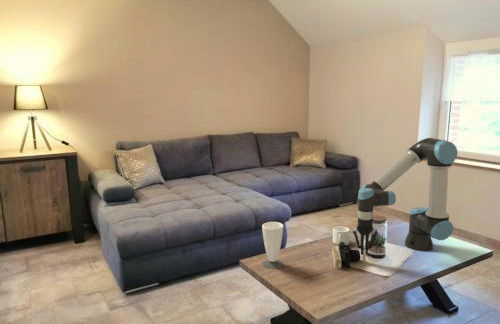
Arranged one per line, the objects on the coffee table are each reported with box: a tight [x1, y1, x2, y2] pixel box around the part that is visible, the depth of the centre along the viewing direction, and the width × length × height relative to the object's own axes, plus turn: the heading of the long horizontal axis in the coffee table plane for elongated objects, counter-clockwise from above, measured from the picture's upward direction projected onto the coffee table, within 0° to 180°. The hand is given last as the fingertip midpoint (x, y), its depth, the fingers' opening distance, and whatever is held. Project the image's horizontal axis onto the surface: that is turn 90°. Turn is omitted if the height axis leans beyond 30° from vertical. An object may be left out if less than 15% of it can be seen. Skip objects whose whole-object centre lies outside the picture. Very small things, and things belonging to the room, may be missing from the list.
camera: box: [338, 242, 361, 269], centre depth 199 cm, size 14×11×10 cm
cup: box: [261, 221, 284, 269], centre depth 197 cm, size 12×12×22 cm
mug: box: [332, 225, 351, 246], centre depth 223 cm, size 12×10×9 cm
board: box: [331, 245, 342, 270], centre depth 201 cm, size 3×18×5 cm, turn 172°
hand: (363, 260), depth 199 cm, fingers closed
